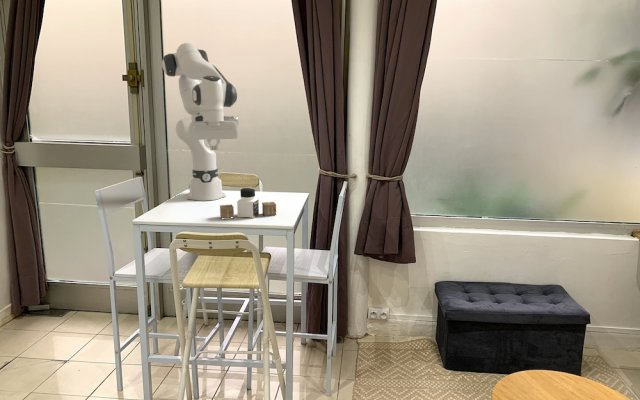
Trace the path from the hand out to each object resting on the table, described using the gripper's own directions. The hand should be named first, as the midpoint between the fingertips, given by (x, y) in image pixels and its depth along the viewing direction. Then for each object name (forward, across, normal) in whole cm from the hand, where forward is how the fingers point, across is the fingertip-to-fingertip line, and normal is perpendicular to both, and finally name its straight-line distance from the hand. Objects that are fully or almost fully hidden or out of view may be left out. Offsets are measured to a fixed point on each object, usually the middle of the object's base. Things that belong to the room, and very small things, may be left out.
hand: (213, 149), depth 225 cm
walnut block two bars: (+28, -22, +8) cm, 36 cm away
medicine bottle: (+28, -13, +8) cm, 31 cm away
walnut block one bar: (+28, -4, +8) cm, 29 cm away
